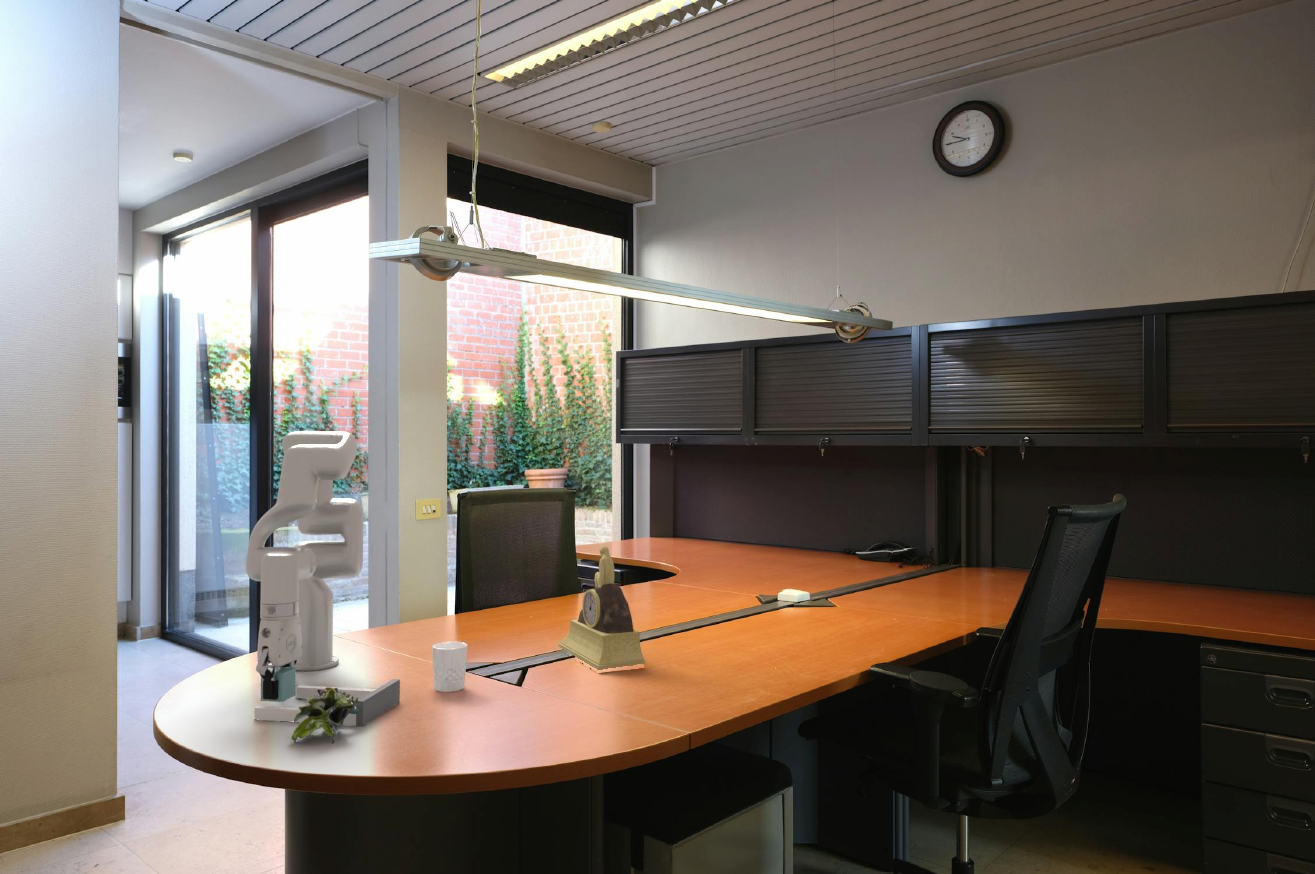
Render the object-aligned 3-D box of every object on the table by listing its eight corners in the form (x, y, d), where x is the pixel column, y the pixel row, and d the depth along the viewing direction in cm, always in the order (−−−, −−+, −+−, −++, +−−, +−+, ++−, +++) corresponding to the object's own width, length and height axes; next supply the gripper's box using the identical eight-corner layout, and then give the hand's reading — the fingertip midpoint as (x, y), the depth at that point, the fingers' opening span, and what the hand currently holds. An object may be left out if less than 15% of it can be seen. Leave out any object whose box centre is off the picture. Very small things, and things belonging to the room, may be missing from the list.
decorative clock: (558, 650, 244) (559, 542, 245) (600, 646, 250) (601, 540, 250) (598, 674, 219) (599, 553, 220) (644, 668, 225) (645, 551, 225)
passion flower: (326, 759, 173) (359, 702, 179) (343, 765, 165) (377, 704, 170) (275, 734, 169) (311, 676, 174) (290, 738, 160) (326, 677, 166)
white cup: (432, 694, 200) (433, 650, 200) (431, 685, 207) (431, 642, 208) (467, 691, 202) (468, 648, 202) (465, 682, 210) (466, 640, 210)
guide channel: (254, 720, 180) (254, 695, 180) (299, 696, 197) (300, 674, 197) (363, 726, 176) (363, 701, 177) (399, 702, 193) (399, 679, 193)
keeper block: (260, 700, 186) (260, 672, 186) (274, 694, 191) (274, 666, 191) (282, 702, 185) (282, 673, 186) (295, 695, 190) (295, 667, 190)
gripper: (272, 618, 180) (271, 708, 179) (317, 603, 196) (315, 685, 196) (238, 616, 181) (237, 706, 180) (285, 602, 197) (284, 683, 197)
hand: (278, 694), depth 188 cm, fingers closed on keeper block, 5 cm apart
